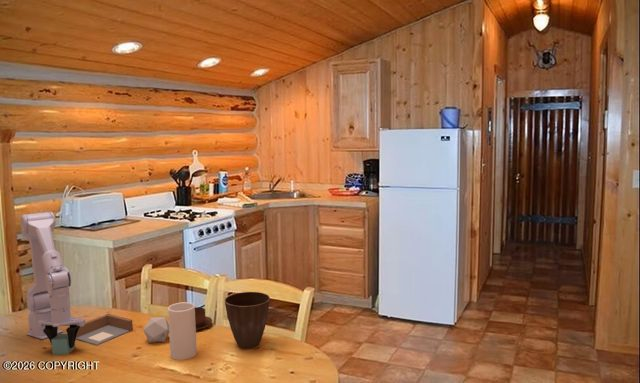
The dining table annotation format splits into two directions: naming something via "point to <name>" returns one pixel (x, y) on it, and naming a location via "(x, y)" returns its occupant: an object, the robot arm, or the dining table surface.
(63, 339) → the teal cube
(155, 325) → the die
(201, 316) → the cup and saucer
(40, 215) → the robot arm
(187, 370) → the dining table surface
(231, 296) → the plant pot
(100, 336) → the tray
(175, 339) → the cup
